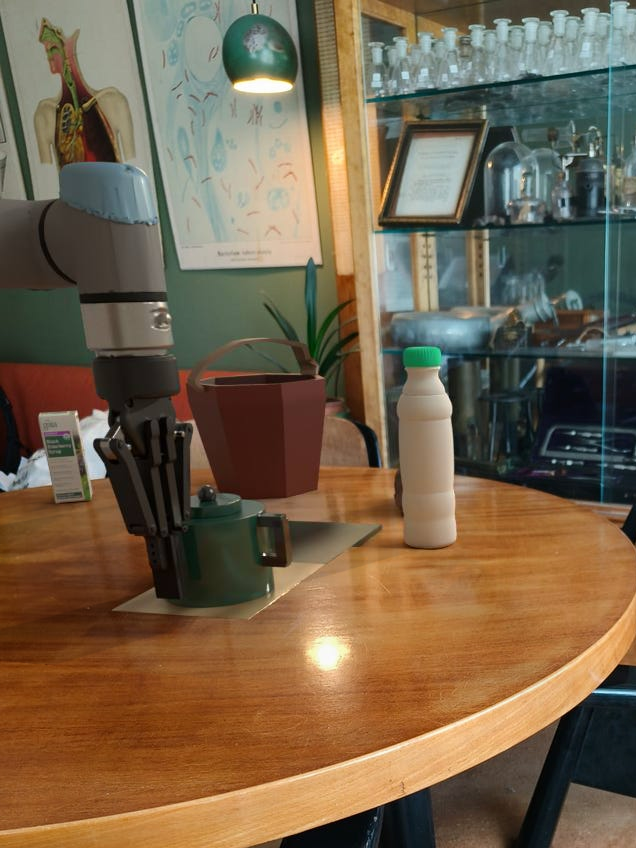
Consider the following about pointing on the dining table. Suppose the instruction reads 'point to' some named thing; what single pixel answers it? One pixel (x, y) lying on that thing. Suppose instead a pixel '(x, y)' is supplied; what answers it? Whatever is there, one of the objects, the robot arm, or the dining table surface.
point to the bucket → (260, 425)
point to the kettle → (230, 550)
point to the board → (274, 568)
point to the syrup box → (65, 456)
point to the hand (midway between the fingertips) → (171, 596)
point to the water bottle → (426, 452)
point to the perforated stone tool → (398, 489)
